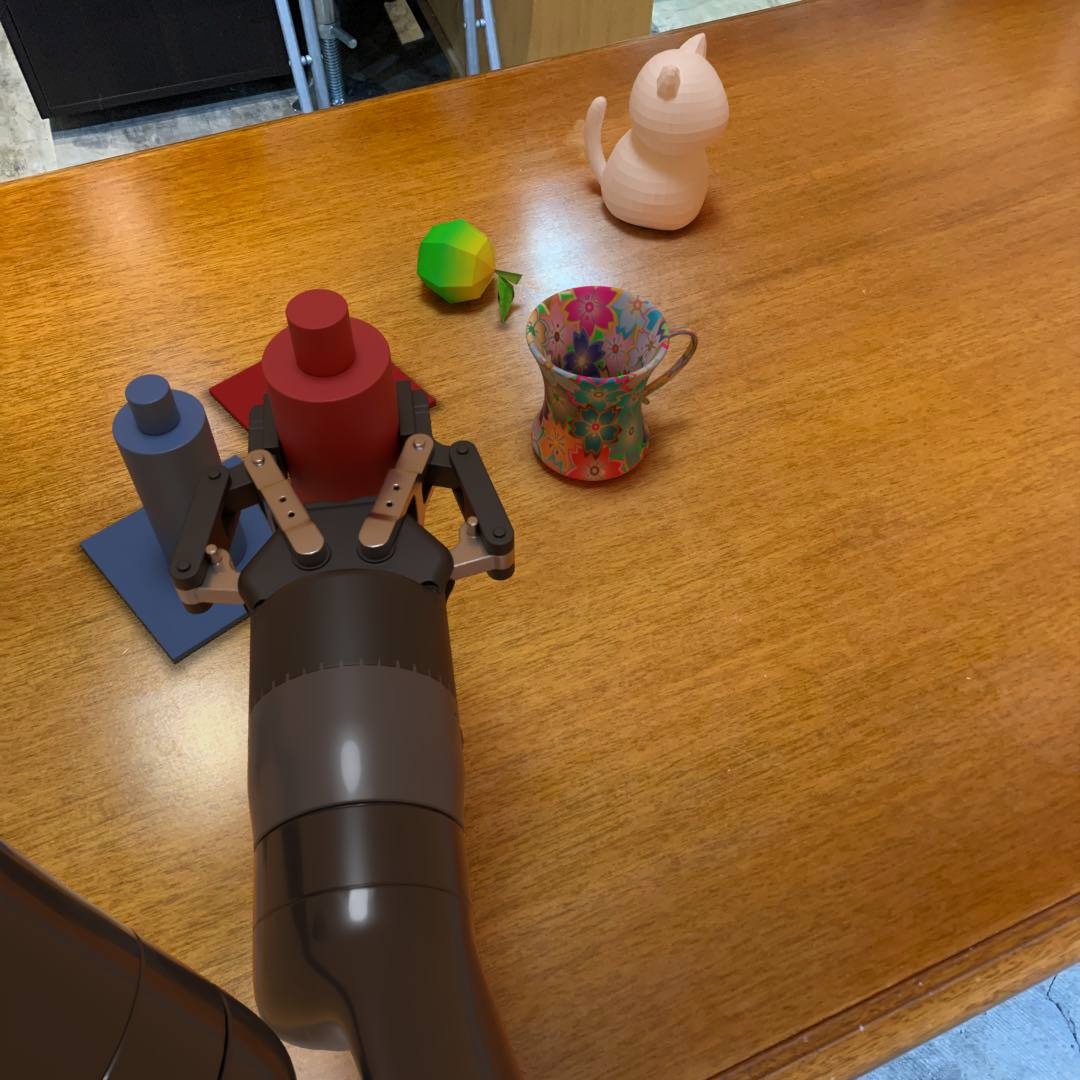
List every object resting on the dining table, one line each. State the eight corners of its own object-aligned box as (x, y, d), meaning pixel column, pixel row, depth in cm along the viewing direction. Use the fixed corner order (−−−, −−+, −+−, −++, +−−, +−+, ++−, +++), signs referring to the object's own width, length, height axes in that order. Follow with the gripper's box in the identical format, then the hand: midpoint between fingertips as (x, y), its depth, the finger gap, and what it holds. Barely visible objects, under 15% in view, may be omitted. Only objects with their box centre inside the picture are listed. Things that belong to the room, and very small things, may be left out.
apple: (411, 205, 83) (521, 230, 81) (440, 216, 89) (542, 239, 87) (393, 297, 85) (500, 324, 83) (422, 302, 91) (522, 327, 89)
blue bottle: (192, 594, 69) (127, 436, 57) (151, 546, 71) (80, 385, 60) (262, 551, 71) (212, 391, 60) (219, 506, 73) (164, 343, 62)
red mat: (301, 484, 75) (299, 480, 75) (209, 393, 81) (207, 388, 80) (436, 404, 80) (435, 399, 80) (341, 323, 86) (340, 318, 85)
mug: (549, 506, 74) (553, 394, 66) (508, 414, 80) (507, 300, 71) (709, 466, 77) (732, 353, 69) (659, 379, 82) (674, 265, 74)
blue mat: (175, 663, 66) (172, 659, 66) (81, 547, 72) (78, 542, 71) (336, 560, 71) (335, 555, 71) (237, 458, 77) (235, 454, 76)
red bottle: (380, 596, 51) (339, 369, 40) (287, 559, 53) (221, 329, 41) (432, 519, 54) (408, 287, 43) (343, 486, 55) (295, 252, 44)
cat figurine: (689, 257, 92) (714, 89, 80) (557, 215, 95) (563, 48, 83) (728, 202, 97) (757, 36, 85) (601, 163, 100) (612, -1, 88)
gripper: (553, 648, 37) (494, 321, 47) (121, 700, 36) (156, 351, 46) (549, 750, 43) (497, 439, 53) (179, 798, 41) (199, 469, 52)
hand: (339, 400), depth 49 cm, fingers closed on red bottle, 5 cm apart
